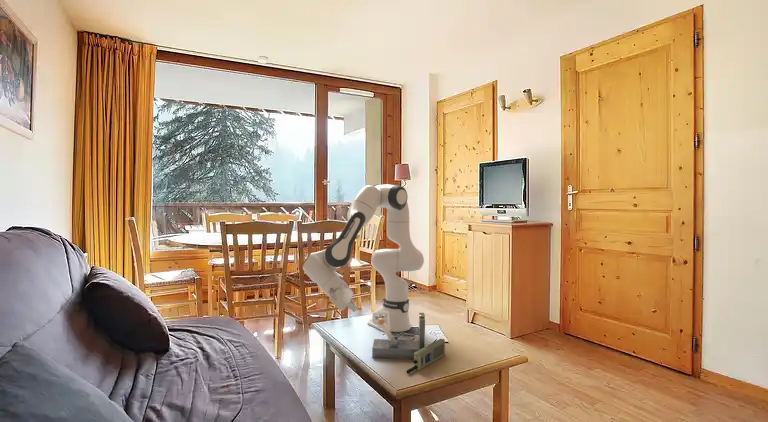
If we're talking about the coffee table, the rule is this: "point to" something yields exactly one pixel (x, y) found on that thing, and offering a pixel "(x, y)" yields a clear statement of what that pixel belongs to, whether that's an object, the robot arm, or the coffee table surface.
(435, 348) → the handheld radio
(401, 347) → the breaker box
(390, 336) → the lever
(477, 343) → the coffee table surface
